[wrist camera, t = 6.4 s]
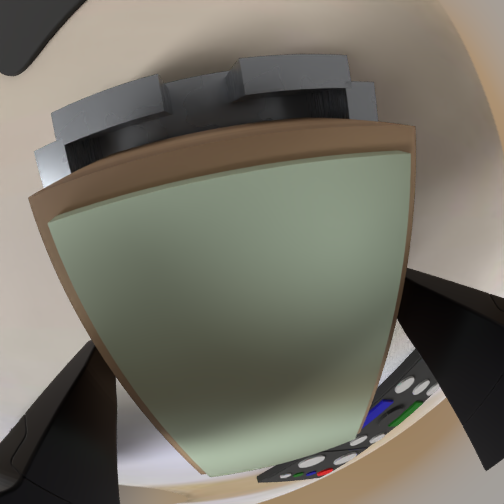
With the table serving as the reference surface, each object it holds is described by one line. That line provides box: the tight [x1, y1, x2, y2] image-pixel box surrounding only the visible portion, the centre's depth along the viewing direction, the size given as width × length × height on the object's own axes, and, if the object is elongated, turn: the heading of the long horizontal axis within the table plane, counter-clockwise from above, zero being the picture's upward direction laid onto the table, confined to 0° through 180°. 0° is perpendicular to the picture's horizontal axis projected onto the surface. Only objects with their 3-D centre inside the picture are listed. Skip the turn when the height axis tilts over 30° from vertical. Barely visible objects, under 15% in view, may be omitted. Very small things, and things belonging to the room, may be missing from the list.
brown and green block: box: [28, 117, 416, 477], centre depth 8 cm, size 10×6×5 cm, turn 8°
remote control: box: [257, 349, 440, 483], centre depth 24 cm, size 11×30×2 cm, turn 147°
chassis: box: [34, 54, 378, 188], centre depth 11 cm, size 14×10×4 cm
